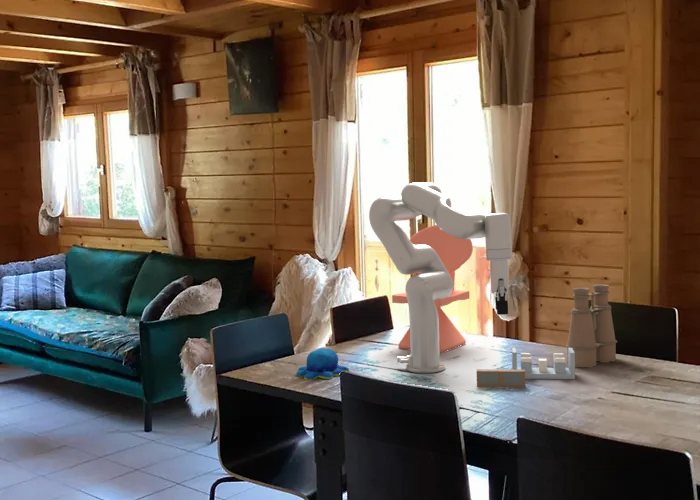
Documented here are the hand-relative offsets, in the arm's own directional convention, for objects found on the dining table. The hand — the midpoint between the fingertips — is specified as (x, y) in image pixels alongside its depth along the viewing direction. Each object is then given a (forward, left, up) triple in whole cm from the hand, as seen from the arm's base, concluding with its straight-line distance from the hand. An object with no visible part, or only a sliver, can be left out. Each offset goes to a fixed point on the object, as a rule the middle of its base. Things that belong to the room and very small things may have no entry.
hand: (501, 311), depth 225 cm
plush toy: (-58, +10, -22) cm, 63 cm away
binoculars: (+29, +29, -22) cm, 47 cm away
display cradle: (+12, +10, -22) cm, 27 cm away
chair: (-25, +53, -22) cm, 63 cm away
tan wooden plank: (-1, -3, -22) cm, 22 cm away
